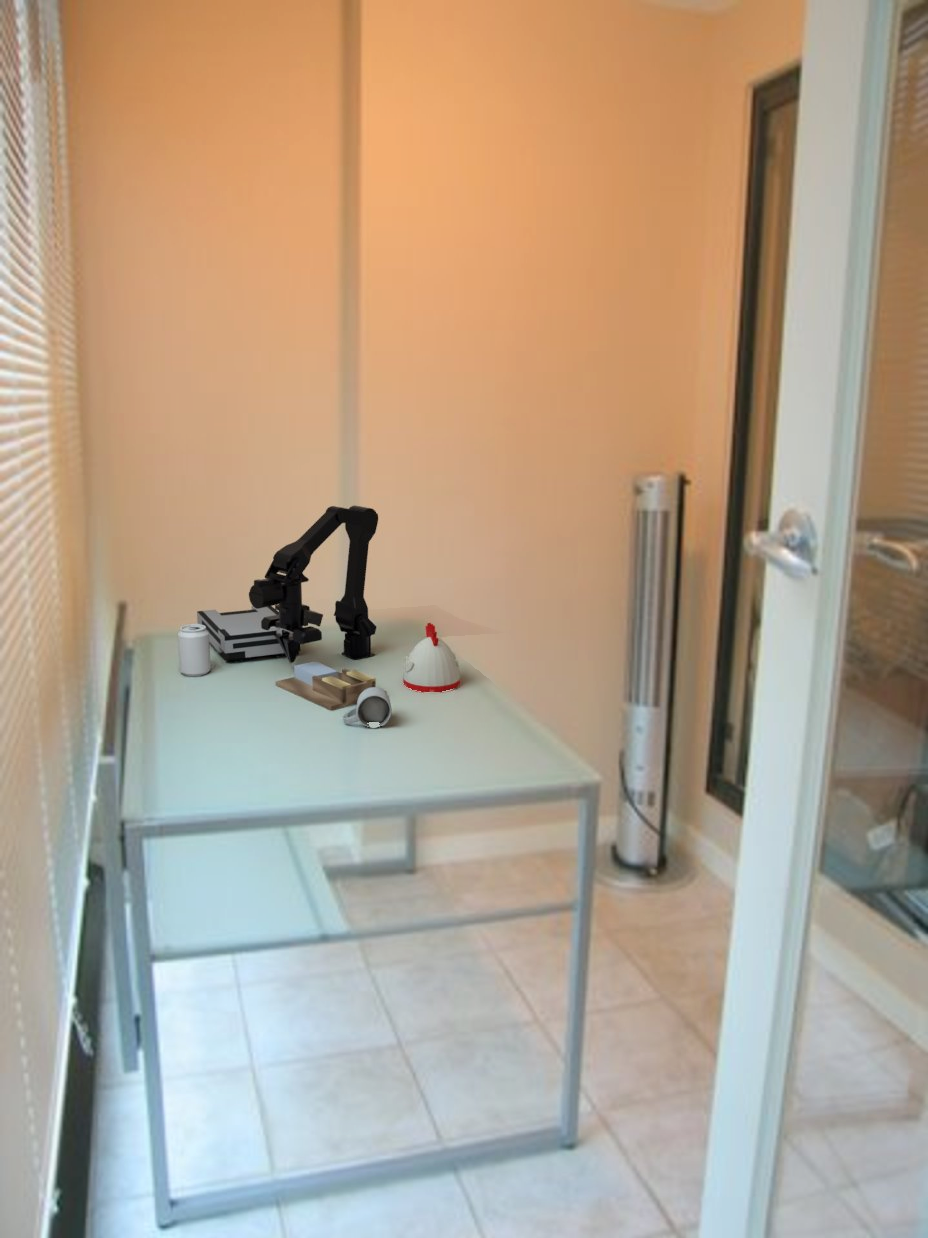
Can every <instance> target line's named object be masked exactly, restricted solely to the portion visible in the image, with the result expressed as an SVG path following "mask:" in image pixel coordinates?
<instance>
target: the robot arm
mask: <svg viewBox="0 0 928 1238" xmlns="http://www.w3.org/2000/svg"><path fill="white" fill-rule="evenodd" d="M342 524H344V528H345V531H346V534H347V536H348V540H349V545H348V546H349V547H348V555H347V565H346V575H345V576H346V577H345V588H344V594H343V596H342V597H341V599H340V600H336V601H335V603H334V604H335V608H334V614H333V616H334V617H335V622H336V624H337V625H338V627H339V630H340V632H342V633H344V639H343V652H341V655H342V656H344V657H346V658H347V657H348V658H350V659H352V660H361V659H365V658H369V657H374V656H375V653H374V652H372V648H371V647H372V646H371V645H372V643H371V642H372V636H373V635H376V631H377V625H376V624H375V623H374V622H373V621H372V620H370V618H369V607H368V605H367V602H366V600H365V587H366V586H365V585H366V576H367V575H366V573H367V567H368V565H367V564H368V554H369V544H370V541H371V540H372V539H373V537H374V535H375V534H376V533H377V532H376V531H377V528H378V524H379V514H378V513H377V512H376V510H375V509H374V508H370V507H367V506H366V507H365V506H361V505H351V506H350V507H349V508H347V507H341V506H336V505H332V506H331V505H330V506H329V507H327V508H326V510H325V512H324V513H323V514H322V515H321V516H320V517H319V518H318V519H317V520H316V521H315V522H314V523H313V524H312V525H311V526H310V527H309V528H308V529H307V530H306V531H305V532H304V533H303V534H302V535H301V536H300V537H299V538H298V539H297V540H295V541H294V542H293V541H292V542H291V543H289V544H286V545H285V546H283V547H281V548H280V549H279V550H277V551H276V552H275V553H274V555H273V557H272V559H273V560H272V562H271V563H270V565H269V567H268V569H267V571H266V573H265V575H264V578H263V579H254V580H253V585H252V586H250V589H249V592H248V599H249V602H250V604H251V607H252V606H253V607H255V608H256V609H259V608H264V607H268V606H272V607H274V608H275V609H276V610H277V611H278V612H279V615H274V616H268V617H264V618H263V620H262V621H261V628H262V629H264V630H269V629H270V627H272V626H275V628H276V632H277V633H276V634H274V636H275V637H276V638H277V640H278V642H279V644H280V645H281V647H282V649H283V651H284V653H285V655H286V656H285V657H286V659H287V660H288V662H289V663H294V662H296V659H297V656H298V655H297V652H298V649H299V647H300V644H301V645H305V644H309V643H314V642H315V643H316V642H319V641H322V639H323V636H322V635H323V634H322V633H323V632H322V630H320V629H319V628H317V627H321V624H322V620H323V617H324V614H323V613H320V612H317V611H315V610H314V611H313V610H311V609H310V606H309V605H307V604H303V598H302V597H303V593H302V591H303V590H302V587H303V586H302V583H307V582H309V581H310V579H309V578H308V577H307V576H306V575H305V574H304V572H305V570H306V568H307V567H308V566H309V565H310V563H311V558H312V555H313V554H314V552H316V551H317V549H319V547H320V546H322V545H323V543H324V542H325V541H327V539H329V537H331V535H332V534H333V533H334V532H335V531H337V529H338V528H339V527H340V526H341V525H342ZM309 624H311V625H316V627H314V626H309ZM301 626H302V627H303V628H301Z"/></svg>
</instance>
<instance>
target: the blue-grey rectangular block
mask: <svg viewBox="0 0 928 1238" xmlns="http://www.w3.org/2000/svg"><path fill="white" fill-rule="evenodd" d="M293 669H294V670H293V671H294V677H295V678H297V679H299V680H301V681H303V682H305V683H307V684H309V685H311V686H313V685H312V676H318V677H320V678H325V677H329V676H332V677H334V678H337V679H338V672H339V671H338V670H335V669H334V668H331V667H329V666H326V665H325V664H323V663H320V662H318V661H310V662H305V663H301V664H297V665H294V666H293Z"/></svg>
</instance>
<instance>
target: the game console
mask: <svg viewBox="0 0 928 1238" xmlns="http://www.w3.org/2000/svg"><path fill="white" fill-rule="evenodd" d="M274 615H279V610H276V609H275V607H274V606H268V607H264V608H259V609H256V608H255V607H253V606H252V605H251V609H245V610H237V611H236V610H235V611H226V612H218V611H217V610H216V609H209V610H208V609H207V610H199V611H196V620H197V623H196V624H201V625H204V626H206V630H207V631H208V632H209V643H210V646H211V647H212V648H213V649H214V650H215V651H216V652H217V654H218V655H219V656H220V658H222V660H224V662H225V663H227V664H231V663H232V664H233V663H240V662H248V661H251V658H254V657H263V656H270V655H274V656H275V657H276V658H281V657H287V656H286V655H285V653H284V651H283V649H282V647H281V645H280V644H279V642H278V640H277V638H276V637H275V636H274V634H276V633H277V632H276V628H275V626H272V627H270V629H269V630H264V629H262V628H261V621H262V620H263V618H264V617H268V616H274ZM301 628H304V626H301ZM301 645H302V644H300V647H299V649H298V652H297V656H298V655H299V654H300V653H299V652H301V650H302V649H301V647H302V646H301Z"/></svg>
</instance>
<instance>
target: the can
mask: <svg viewBox="0 0 928 1238" xmlns="http://www.w3.org/2000/svg"><path fill="white" fill-rule="evenodd" d="M177 643H178V660H179V661H178V663H179V671H180V673H182V674H183V675H184V674H185V675H184V676H186V677H201V676H204V675H206V674H208V673H209V672H210V671H211V669H212V667H211V666H212V665H211V649H210V646H211V644H210V643H209V632H208V631H207V630H206V626H204V625H201V624H198V623H192V624H191V623H190V624H185V625H182V626H180V627H179V632H178V633H177Z"/></svg>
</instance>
